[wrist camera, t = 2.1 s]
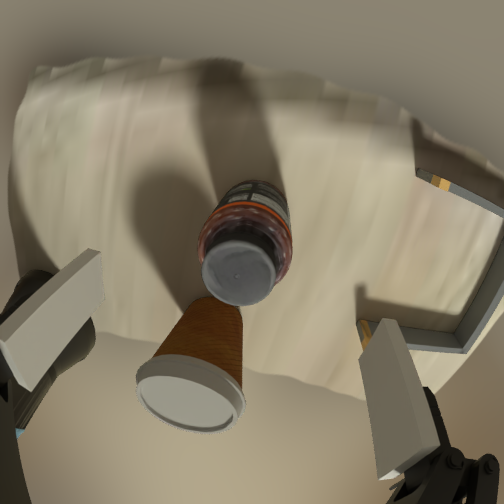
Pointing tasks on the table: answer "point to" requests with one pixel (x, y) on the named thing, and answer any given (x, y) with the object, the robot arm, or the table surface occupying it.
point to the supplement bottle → (246, 244)
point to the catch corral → (487, 299)
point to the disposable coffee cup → (197, 371)
